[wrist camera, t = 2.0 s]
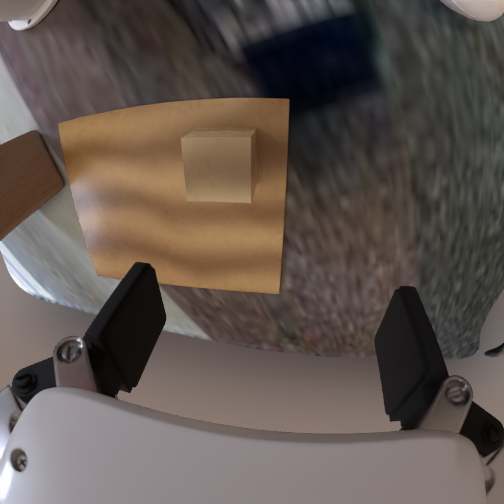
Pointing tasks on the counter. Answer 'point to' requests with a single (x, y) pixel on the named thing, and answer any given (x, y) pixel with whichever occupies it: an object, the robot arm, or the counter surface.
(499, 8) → the spinning top
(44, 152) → the block
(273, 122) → the wooden board
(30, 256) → the counter surface
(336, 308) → the counter surface
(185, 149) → the oak cube
